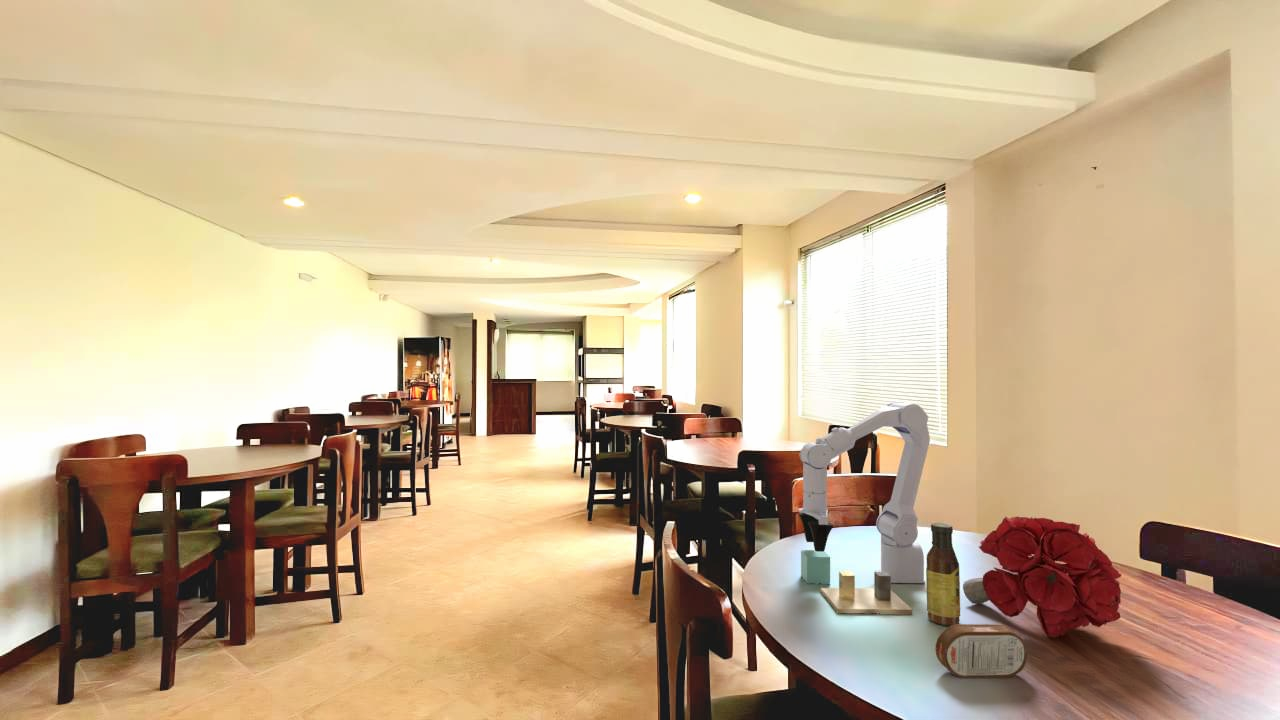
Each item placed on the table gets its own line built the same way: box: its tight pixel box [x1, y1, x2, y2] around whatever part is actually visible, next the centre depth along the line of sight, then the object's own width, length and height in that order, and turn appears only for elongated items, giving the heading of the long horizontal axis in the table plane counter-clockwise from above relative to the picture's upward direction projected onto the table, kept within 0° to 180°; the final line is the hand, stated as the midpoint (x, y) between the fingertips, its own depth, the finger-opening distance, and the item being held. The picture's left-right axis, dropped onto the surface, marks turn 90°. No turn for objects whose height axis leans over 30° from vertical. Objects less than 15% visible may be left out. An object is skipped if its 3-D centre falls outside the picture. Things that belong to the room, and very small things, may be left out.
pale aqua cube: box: [800, 549, 831, 585], centre depth 146 cm, size 6×6×7 cm
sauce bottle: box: [925, 522, 961, 627], centre depth 123 cm, size 6×6×20 cm
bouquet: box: [962, 515, 1122, 638], centre depth 121 cm, size 22×24×30 cm
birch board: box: [820, 571, 913, 615], centre depth 132 cm, size 16×12×6 cm
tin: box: [934, 623, 1029, 679], centre depth 101 cm, size 15×3×8 cm, turn 92°
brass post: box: [838, 571, 856, 600], centre depth 132 cm, size 3×3×6 cm
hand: (815, 546), depth 146 cm, fingers open, 7 cm apart
